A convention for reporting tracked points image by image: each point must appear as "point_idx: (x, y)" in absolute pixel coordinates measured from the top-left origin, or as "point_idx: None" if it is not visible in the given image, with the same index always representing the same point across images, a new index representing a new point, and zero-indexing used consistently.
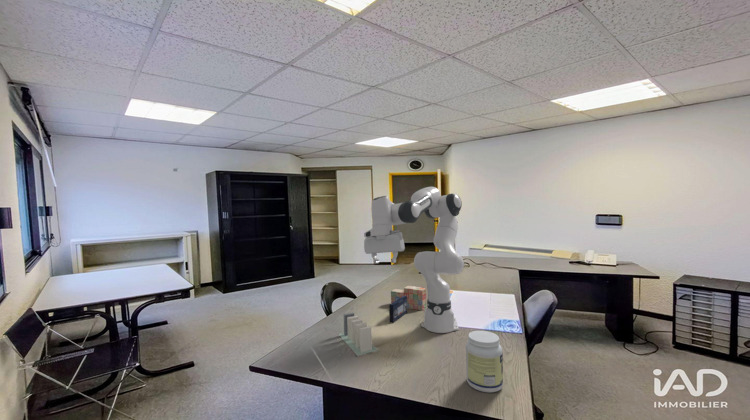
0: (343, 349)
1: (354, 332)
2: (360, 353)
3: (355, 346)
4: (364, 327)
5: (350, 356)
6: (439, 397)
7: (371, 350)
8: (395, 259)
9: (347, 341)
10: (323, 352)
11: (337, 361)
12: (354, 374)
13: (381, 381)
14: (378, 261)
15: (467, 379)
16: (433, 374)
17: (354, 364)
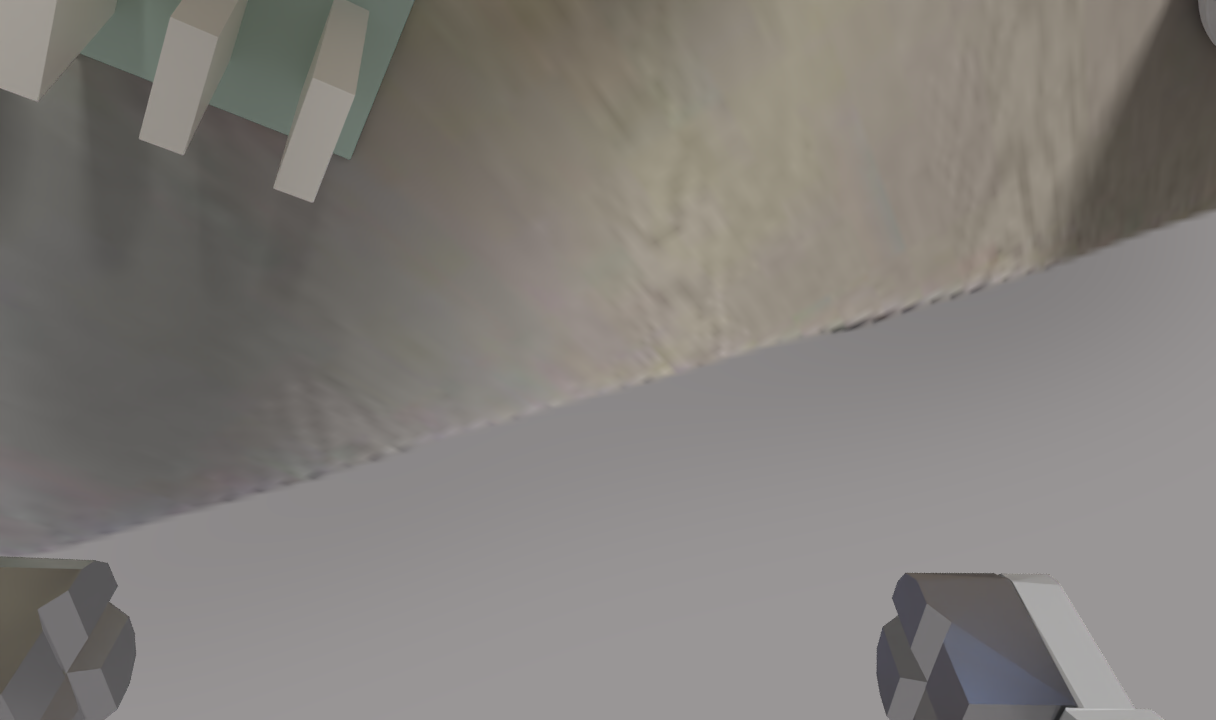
0: None
1: (84, 31)
2: None
3: None
4: (297, 141)
5: None
6: (1032, 221)
7: (373, 20)
8: (1091, 691)
9: None
10: (82, 262)
11: (297, 286)
12: (516, 323)
13: (696, 285)
14: (50, 626)
15: (1211, 28)
16: (966, 37)
17: (425, 247)
